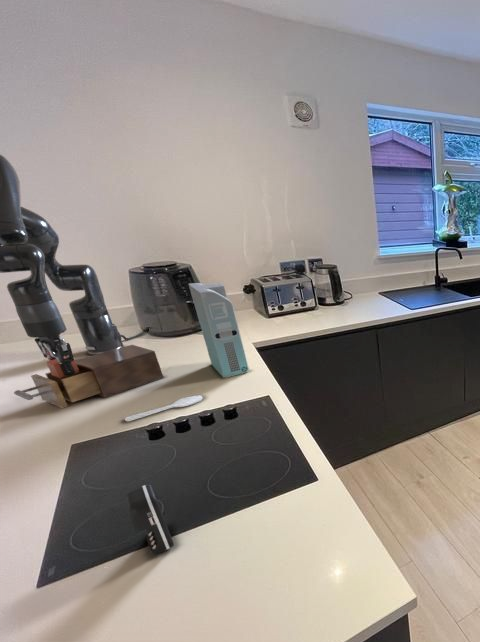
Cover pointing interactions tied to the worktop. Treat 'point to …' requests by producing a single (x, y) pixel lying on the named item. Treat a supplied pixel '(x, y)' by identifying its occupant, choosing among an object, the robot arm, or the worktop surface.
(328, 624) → the worktop surface
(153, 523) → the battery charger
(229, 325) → the device
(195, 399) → the spoon
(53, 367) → the block
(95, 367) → the cabinet
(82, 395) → the drawer
